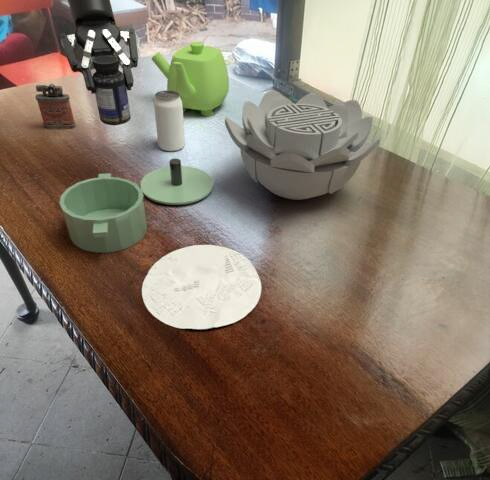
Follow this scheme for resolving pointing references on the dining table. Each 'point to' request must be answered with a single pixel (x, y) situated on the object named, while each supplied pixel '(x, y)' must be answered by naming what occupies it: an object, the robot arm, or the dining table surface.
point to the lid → (176, 184)
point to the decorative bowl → (302, 143)
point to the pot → (104, 213)
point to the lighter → (55, 107)
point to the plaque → (201, 287)
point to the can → (169, 120)
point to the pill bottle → (110, 91)
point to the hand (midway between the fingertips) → (111, 89)
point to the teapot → (196, 76)
